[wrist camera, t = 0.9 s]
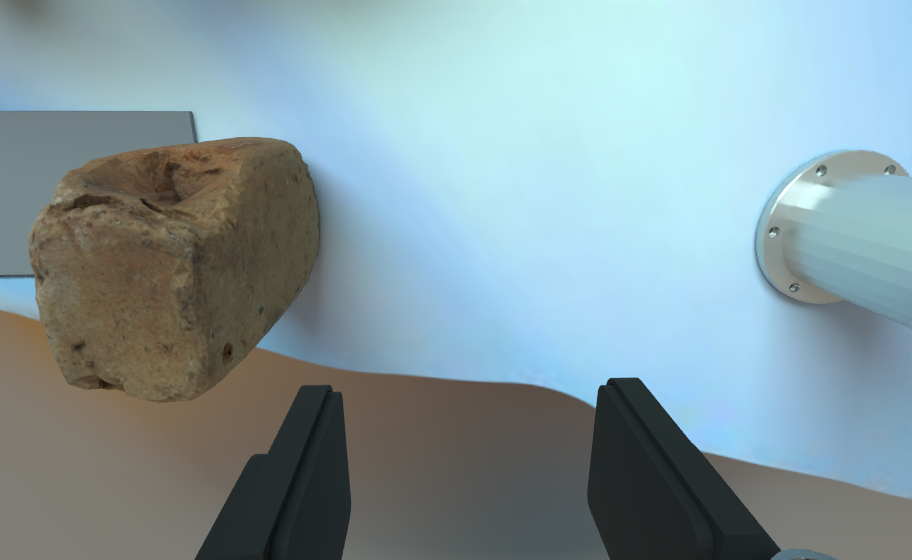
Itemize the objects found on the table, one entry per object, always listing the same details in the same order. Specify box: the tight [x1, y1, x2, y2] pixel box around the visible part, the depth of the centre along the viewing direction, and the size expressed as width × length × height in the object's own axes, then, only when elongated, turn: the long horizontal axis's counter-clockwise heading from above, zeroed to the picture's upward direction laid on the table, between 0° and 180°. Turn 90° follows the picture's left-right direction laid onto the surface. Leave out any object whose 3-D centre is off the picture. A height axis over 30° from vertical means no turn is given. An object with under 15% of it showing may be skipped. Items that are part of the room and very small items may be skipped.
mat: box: [0, 111, 197, 275], centre depth 36 cm, size 18×12×1 cm, turn 90°
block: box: [28, 137, 319, 403], centre depth 28 cm, size 11×8×20 cm
